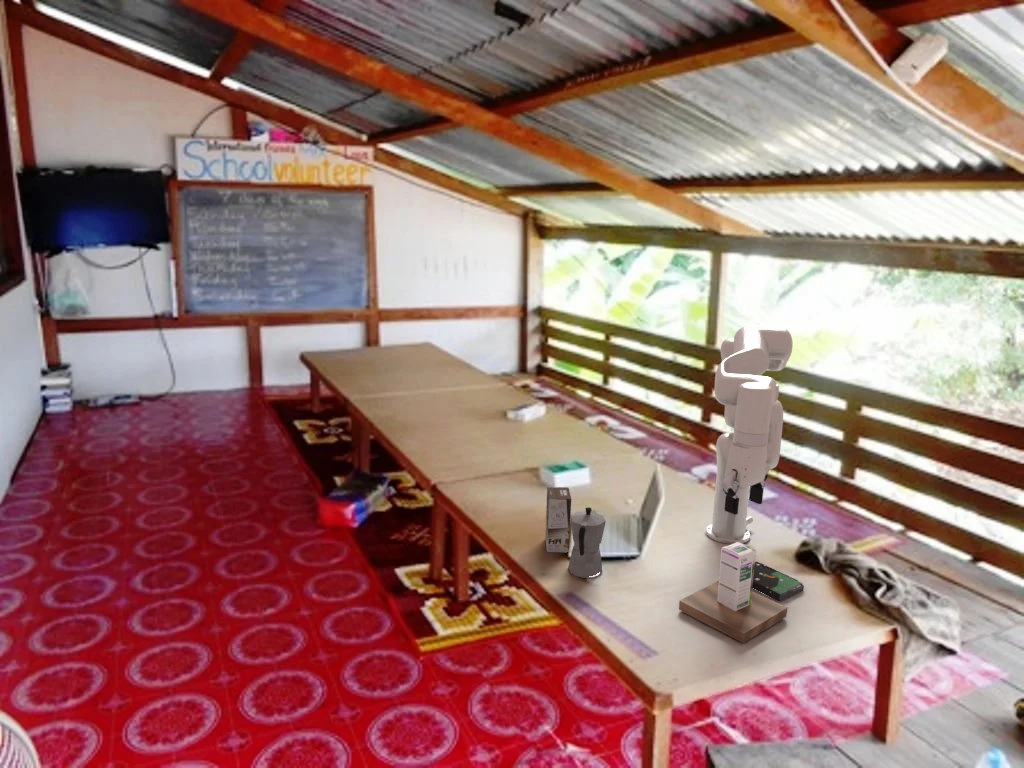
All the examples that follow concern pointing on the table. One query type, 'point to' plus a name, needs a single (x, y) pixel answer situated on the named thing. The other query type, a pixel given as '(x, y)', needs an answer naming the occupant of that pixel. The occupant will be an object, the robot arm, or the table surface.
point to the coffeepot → (586, 543)
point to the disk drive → (775, 583)
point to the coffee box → (558, 519)
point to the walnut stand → (733, 613)
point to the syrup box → (736, 576)
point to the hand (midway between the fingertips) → (743, 507)
